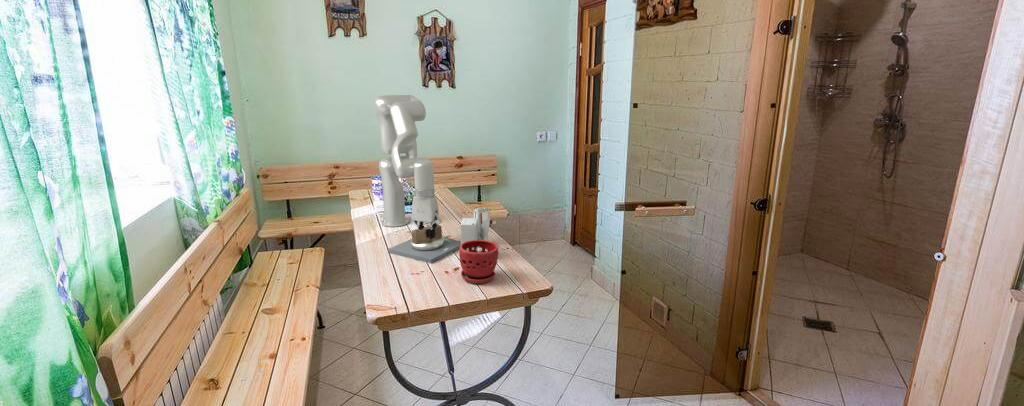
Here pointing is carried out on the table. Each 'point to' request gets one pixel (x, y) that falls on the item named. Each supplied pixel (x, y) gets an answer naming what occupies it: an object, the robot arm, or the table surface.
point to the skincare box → (469, 230)
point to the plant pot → (478, 261)
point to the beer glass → (482, 222)
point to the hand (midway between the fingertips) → (427, 236)
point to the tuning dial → (427, 239)
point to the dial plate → (429, 255)
